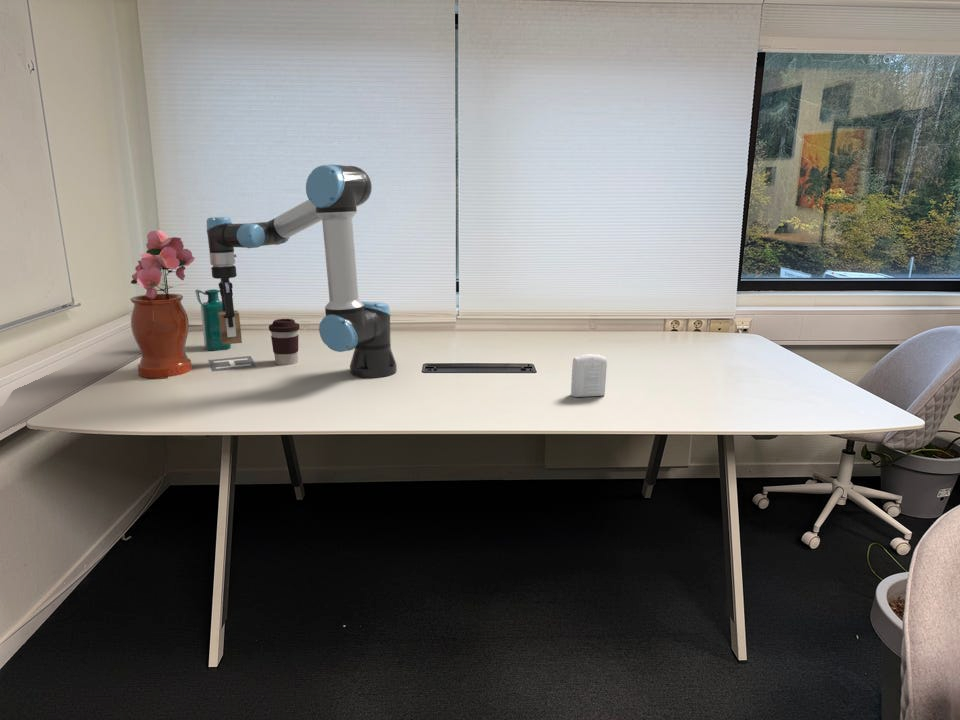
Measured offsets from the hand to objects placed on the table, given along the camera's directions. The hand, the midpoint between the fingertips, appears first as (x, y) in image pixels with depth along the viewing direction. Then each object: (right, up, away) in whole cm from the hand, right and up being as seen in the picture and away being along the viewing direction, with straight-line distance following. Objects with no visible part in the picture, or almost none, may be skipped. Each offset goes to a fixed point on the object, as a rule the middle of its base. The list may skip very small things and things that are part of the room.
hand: (230, 334), depth 222 cm
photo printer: (+115, -19, -27) cm, 120 cm away
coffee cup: (+17, -10, +5) cm, 21 cm away
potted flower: (-17, -12, -6) cm, 22 cm away
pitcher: (-15, -4, +25) cm, 30 cm away
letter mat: (-1, -10, +3) cm, 10 cm away
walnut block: (0, -2, +1) cm, 2 cm away
